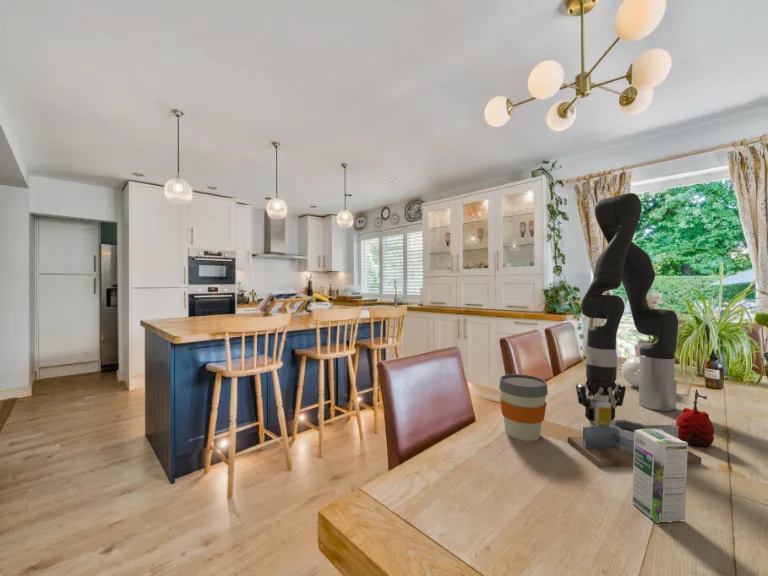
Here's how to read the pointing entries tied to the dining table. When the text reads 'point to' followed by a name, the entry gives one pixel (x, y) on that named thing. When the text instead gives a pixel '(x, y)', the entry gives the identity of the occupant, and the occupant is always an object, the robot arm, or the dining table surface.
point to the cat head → (631, 370)
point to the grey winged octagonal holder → (619, 435)
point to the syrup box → (659, 475)
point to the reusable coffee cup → (523, 405)
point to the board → (614, 455)
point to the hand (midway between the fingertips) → (599, 419)
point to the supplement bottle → (601, 412)
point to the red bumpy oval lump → (695, 426)
